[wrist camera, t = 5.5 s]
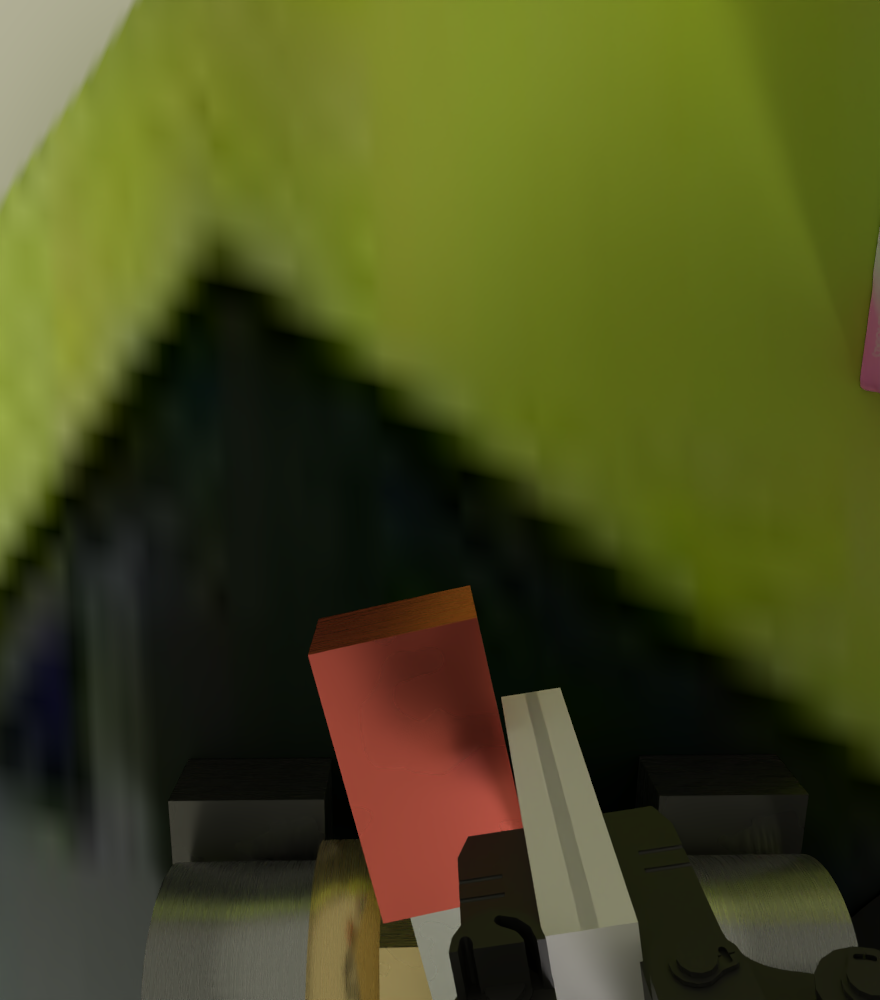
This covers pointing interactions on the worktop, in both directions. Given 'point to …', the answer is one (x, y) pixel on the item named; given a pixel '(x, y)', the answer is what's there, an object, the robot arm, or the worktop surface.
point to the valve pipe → (392, 946)
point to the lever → (416, 754)
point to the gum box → (873, 335)
